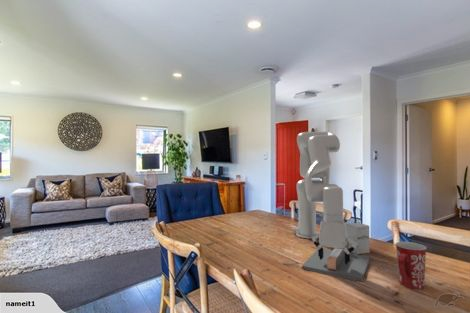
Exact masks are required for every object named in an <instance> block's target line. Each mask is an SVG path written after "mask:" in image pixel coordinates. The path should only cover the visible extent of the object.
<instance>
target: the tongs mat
mask: <svg viewBox="0 0 470 313" xmlns="http://www.w3.org/2000/svg"><path fill="white" fill-rule="evenodd" d="M332 251H333V249H332V250H331V249H327V248H323V258H322V259H320V256H318V249H316V250H315V251H314V252H313V253H312V254H311V255H310V257H309V258H307V259H306V261H305V262H303V264H302V265H301V269H303V270H306V271H312V272H316V273H321V274H326V275H330V276H335V277H338V278H342V279H348V280H354V281H357V282H363V280H364V278H365V275H366V271H367V269H368V267H369V263H370V261H371V256H368V255H364V254H354V253H352V252H351V253H350V262H348V264H345V256H344V258H343V260H342V261H341V263H340V265H339V266H338V268H337V270H332V269H327V258H328V256H329V255H330V254H331V252H332Z"/></svg>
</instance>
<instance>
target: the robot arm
mask: <svg viewBox="0 0 470 313" xmlns="http://www.w3.org/2000/svg"><path fill="white" fill-rule="evenodd" d="M296 143H297V147H298V151H299V154H300V156H299V175H300V177H302V178H303V179H300V180H298V181H297V183H296V193H297V203H298V206H297V207H298V209H297V210H298V226H295V225H292V227H291V230H292V231H296V232H295V235H296V236H297V237H298V238H301V239H311V240H312V242H313V244H314V246H315V247H316V248H317V249H318V256H320V259H322V258H323V249H324V248H323V247H325V248H326V247H327V248H332V249H334V248H337V249H343V250H344V251H345V252H346V253H345V264H348V262H350V253H352V251H353V250H354V249H355V247H356V246H357V242H355V241H353V240H352V239H350V238H349V237H347V229H346V224H347V223H346V221H345V220H344V190H343V188H342V187H340V186H339V185H337V184H335V183H330V172H331V171H330V166H331V164H332V163H331V162H332V161H331V158H330V153H337V152H339V150H340V149H341V148H340V146H341V143H340V139H339V137H338V136H337V135H336V134H335V133H333V132H331V131H303V132H300V133H298V134H297V136H296ZM316 203H322V213H319V218H322V219H321V220H320V225H319V232H318V231H317V206H316ZM317 239H319V240H317ZM348 242H349V243H351V244H352V247H351V248H349V247H348V246H347V244H348ZM317 249H316V250H317Z"/></svg>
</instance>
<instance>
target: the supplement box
mask: <svg viewBox="0 0 470 313" xmlns="http://www.w3.org/2000/svg"><path fill="white" fill-rule="evenodd" d="M345 224H346V229H347V237H349V238H350V239H352V240H353V241H355V242H357V246H356V247H355V249H354V250H353V251H352V252H351V253H352V254H357V255H363V254H370V225H368V224H365V223H361V222H350V223H345ZM351 247H352V244H351V243H349V248H351Z"/></svg>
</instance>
